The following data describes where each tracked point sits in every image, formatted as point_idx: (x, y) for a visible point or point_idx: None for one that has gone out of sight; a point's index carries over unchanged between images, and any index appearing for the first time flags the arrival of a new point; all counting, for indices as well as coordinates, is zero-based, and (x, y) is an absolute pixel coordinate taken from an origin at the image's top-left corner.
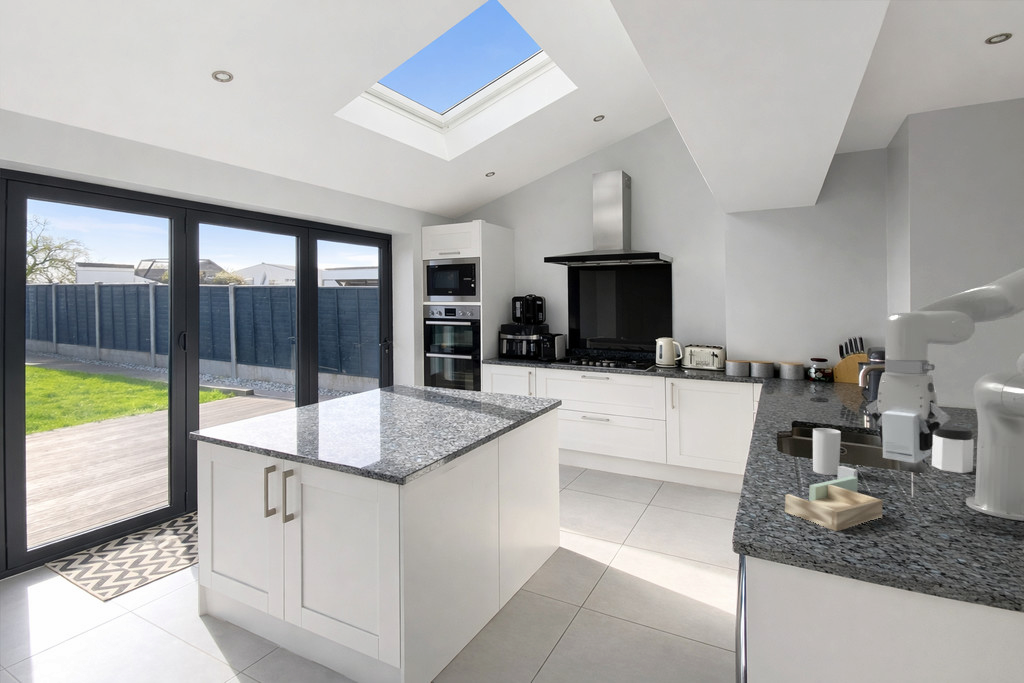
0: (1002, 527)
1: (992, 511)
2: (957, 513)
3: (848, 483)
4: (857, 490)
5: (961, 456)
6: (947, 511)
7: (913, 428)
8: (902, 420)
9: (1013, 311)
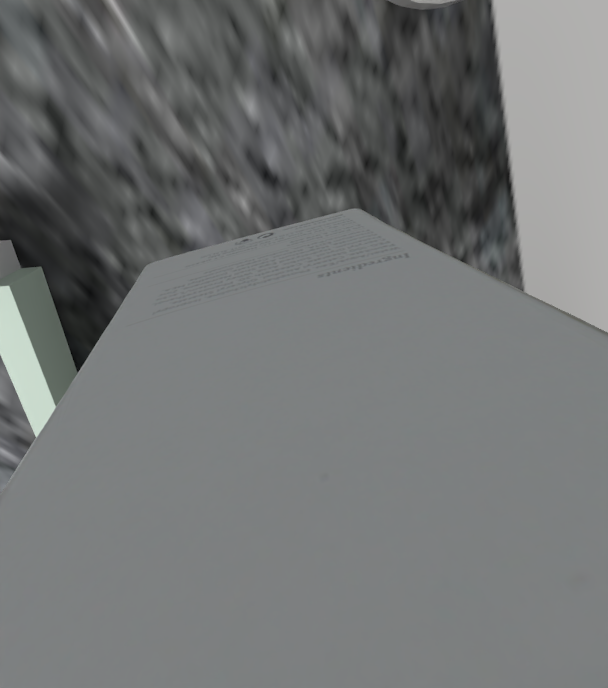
0: (476, 127)
1: (439, 2)
2: (348, 115)
3: (44, 350)
4: (38, 269)
5: None
6: (320, 128)
7: None
8: None
9: None
